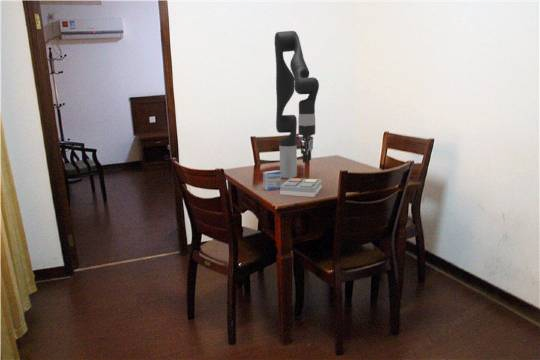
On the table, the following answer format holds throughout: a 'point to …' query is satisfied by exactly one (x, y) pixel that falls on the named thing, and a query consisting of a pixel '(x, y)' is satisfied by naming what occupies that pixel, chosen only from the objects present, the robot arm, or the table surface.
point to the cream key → (311, 181)
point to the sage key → (307, 185)
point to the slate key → (291, 184)
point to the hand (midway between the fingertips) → (307, 161)
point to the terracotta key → (296, 180)
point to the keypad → (301, 189)
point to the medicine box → (272, 180)
